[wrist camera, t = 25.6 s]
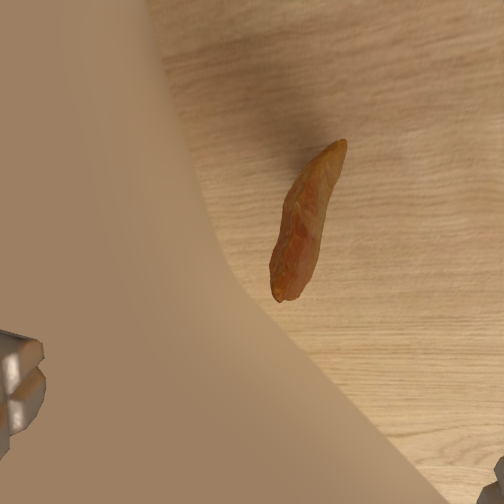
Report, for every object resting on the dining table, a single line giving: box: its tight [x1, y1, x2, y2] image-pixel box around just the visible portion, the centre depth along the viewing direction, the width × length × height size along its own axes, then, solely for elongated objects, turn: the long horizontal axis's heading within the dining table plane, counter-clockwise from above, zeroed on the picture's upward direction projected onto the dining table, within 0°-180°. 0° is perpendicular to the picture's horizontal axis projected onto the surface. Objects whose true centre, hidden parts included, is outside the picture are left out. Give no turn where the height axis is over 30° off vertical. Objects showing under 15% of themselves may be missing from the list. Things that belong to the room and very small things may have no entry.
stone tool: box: [269, 139, 347, 303], centre depth 19 cm, size 5×2×15 cm, turn 171°
